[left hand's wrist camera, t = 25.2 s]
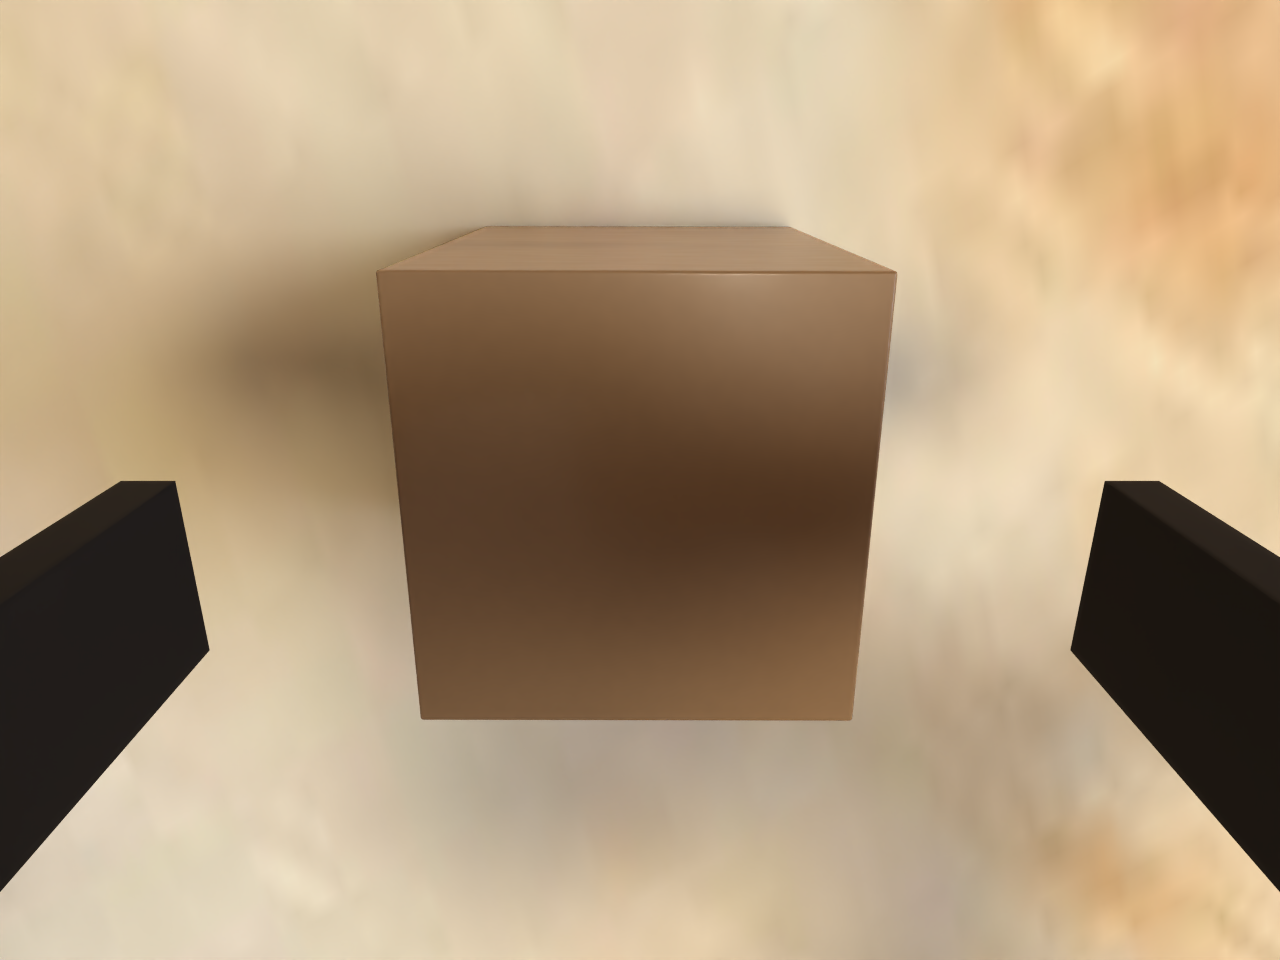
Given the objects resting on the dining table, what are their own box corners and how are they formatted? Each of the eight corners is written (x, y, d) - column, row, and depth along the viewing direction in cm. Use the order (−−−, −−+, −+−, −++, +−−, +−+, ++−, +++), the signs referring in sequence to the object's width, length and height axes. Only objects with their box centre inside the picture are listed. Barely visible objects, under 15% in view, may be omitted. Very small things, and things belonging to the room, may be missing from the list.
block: (774, 516, 26) (852, 721, 16) (501, 515, 26) (420, 720, 16) (791, 227, 23) (898, 271, 13) (485, 226, 23) (375, 269, 13)
